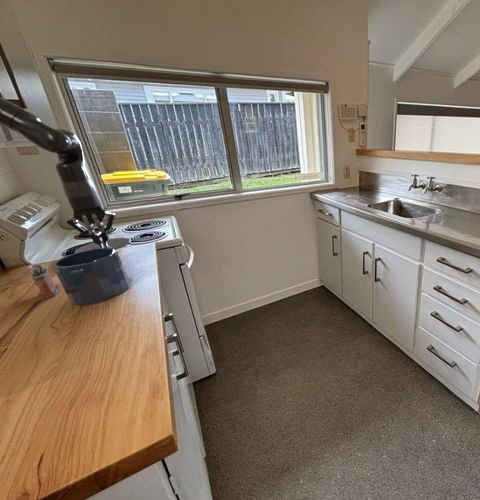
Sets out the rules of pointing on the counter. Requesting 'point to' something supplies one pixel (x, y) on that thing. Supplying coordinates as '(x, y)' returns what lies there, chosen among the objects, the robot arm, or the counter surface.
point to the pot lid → (111, 243)
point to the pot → (92, 276)
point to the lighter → (44, 282)
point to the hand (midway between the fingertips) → (102, 242)
